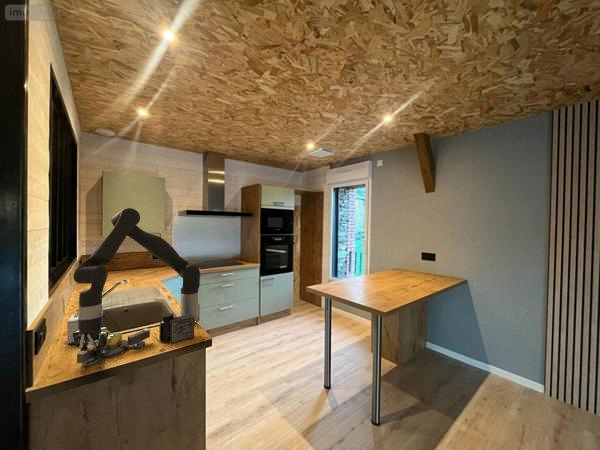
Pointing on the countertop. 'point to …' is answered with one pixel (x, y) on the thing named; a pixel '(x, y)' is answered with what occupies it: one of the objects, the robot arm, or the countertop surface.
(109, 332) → the knob side
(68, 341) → the light bulb box
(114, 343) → the tribrach
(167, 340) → the supplement bottle
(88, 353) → the knob
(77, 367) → the countertop surface
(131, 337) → the knob
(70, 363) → the countertop surface
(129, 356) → the countertop surface
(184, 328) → the small box
